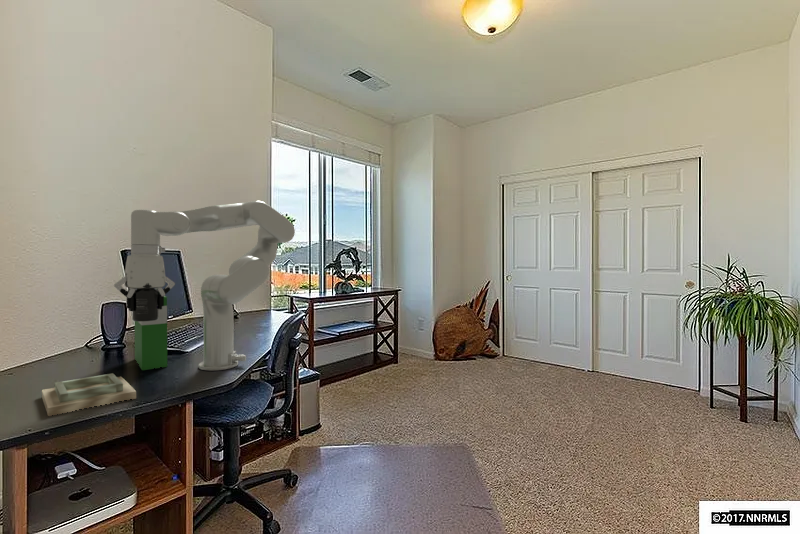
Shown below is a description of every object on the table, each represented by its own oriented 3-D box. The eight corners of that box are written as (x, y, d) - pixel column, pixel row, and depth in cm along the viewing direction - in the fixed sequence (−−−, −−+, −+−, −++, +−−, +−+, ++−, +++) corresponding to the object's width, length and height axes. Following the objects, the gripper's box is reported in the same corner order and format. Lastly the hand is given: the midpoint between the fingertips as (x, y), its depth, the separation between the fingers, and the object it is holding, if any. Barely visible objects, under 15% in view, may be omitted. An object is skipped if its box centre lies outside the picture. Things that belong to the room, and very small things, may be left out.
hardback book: (134, 359, 151) (134, 293, 151) (158, 356, 156) (157, 292, 155) (142, 370, 138) (141, 298, 137) (167, 366, 142) (166, 296, 142)
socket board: (121, 383, 124) (121, 369, 124) (136, 398, 111) (136, 383, 111) (41, 397, 111) (41, 382, 111) (48, 416, 98) (47, 399, 98)
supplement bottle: (163, 319, 128) (163, 280, 128) (143, 322, 122) (143, 281, 122) (147, 317, 131) (147, 279, 130) (126, 321, 124) (126, 280, 124)
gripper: (173, 251, 134) (173, 306, 135) (108, 250, 122) (108, 310, 123) (180, 251, 129) (180, 309, 129) (113, 250, 117) (113, 313, 117)
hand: (145, 309), depth 126 cm, fingers closed on supplement bottle, 6 cm apart
